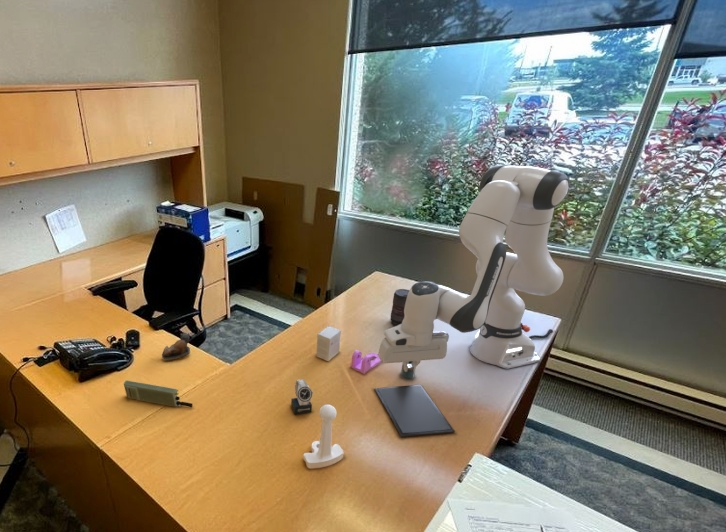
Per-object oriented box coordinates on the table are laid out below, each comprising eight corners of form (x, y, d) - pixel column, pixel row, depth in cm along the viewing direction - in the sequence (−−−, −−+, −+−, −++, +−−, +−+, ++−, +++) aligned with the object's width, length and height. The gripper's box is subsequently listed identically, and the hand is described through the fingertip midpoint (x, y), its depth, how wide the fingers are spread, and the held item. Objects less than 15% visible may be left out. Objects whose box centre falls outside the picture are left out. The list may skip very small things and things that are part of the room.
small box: (327, 347, 166) (328, 325, 161) (339, 352, 163) (341, 330, 158) (315, 356, 162) (317, 333, 156) (328, 361, 158) (329, 338, 153)
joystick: (310, 471, 115) (313, 417, 105) (297, 451, 121) (299, 399, 111) (345, 460, 117) (351, 406, 107) (331, 441, 124) (336, 389, 114)
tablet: (420, 386, 143) (420, 384, 142) (454, 433, 123) (454, 430, 123) (374, 390, 142) (374, 388, 142) (401, 437, 123) (401, 435, 123)
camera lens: (412, 328, 175) (418, 296, 168) (393, 328, 175) (398, 297, 168) (405, 318, 182) (411, 287, 175) (386, 319, 182) (391, 288, 175)
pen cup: (410, 372, 150) (414, 351, 145) (415, 379, 146) (420, 358, 141) (398, 373, 150) (402, 352, 145) (403, 380, 146) (407, 359, 141)
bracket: (363, 374, 150) (365, 359, 147) (350, 368, 154) (352, 352, 150) (384, 360, 157) (386, 345, 153) (371, 354, 161) (373, 339, 157)
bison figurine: (163, 364, 163) (160, 343, 158) (161, 355, 169) (157, 334, 164) (193, 358, 166) (190, 337, 161) (189, 349, 172) (187, 328, 167)
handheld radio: (130, 393, 149) (194, 404, 142) (126, 399, 147) (190, 411, 139) (127, 378, 146) (192, 390, 138) (122, 384, 143) (188, 396, 136)
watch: (296, 418, 133) (297, 392, 127) (289, 402, 140) (290, 376, 134) (313, 416, 133) (315, 389, 128) (305, 399, 140) (306, 374, 135)
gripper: (444, 325, 128) (436, 361, 135) (379, 330, 128) (374, 366, 135) (455, 336, 123) (446, 373, 130) (387, 342, 123) (381, 378, 130)
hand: (408, 370), depth 132 cm, fingers closed
